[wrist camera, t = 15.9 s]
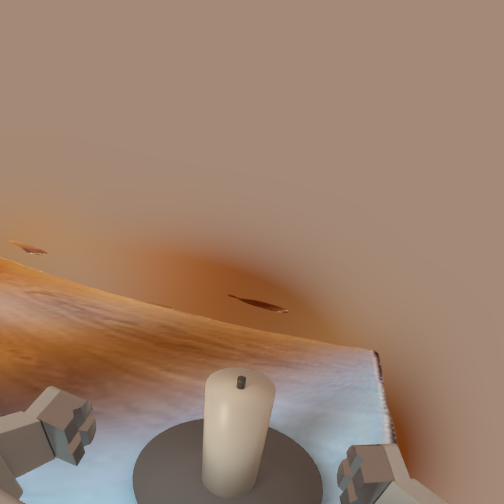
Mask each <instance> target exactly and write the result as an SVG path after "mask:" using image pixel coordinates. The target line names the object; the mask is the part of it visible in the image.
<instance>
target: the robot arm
mask: <svg viewBox="0 0 504 504" xmlns="http://www.w3.org/2000/svg"><path fill="white" fill-rule="evenodd" d="M92 410H93V408H92V404H91V402H90V401H88V400H85V399H83V398H80V397H78V396H75V395H73V394H70V393H68V392H66V391H63V390H61V389H58V388H56V387H54V386H49V387H47V388H46V389H45V390H44V391H43V393H42V394H41V395H40V396H39V397H38V398H37V399H36V400H35V401H34V402H33V404H32V405H31V406H30V407H29V408H28V409H27V410H26V411H25V412H22V411H19V412H16V413H12V414H9V415H5V416H2V417H0V504H25V503H23V502H21V501H20V500H19V498H20V497H21V495H22V493H23V490H22V488H21V487H20V485H19V484H18V482H17V481H16V479H15V478H17V477H19V476H21V475H23V474H25V473H27V472H29V471H31V470H33V469H35V468H37V467H39V466H41V465H43V464H45V463H47V462H49V461H51V460H53V459H55V457H56V458H59V459H61V460H63V461H66V462H68V463H70V464H73V465H75V466H77V465H78V463H79V462H80V460H81V458H82V457H83V455H84V453H85V451H84V446H86V445H89V444H90V443H91V442H92V440H93V438H94V435H95V431H96V422H95V419H94V417H93V416H92V415H91V414H90V413H91V411H92ZM347 457H348V458H346V459H345V460H343V461H342V462H341V464H340V466H339V469H338V474H337V482H338V487H339V488H340V489H341V490H342V491H344V492H343V493H342V495H341V496H340V501H341V504H449V503H448V502H446V501H445V500H443V499H442V498H440V497H439V496H438V495H436V494H435V493H433V492H432V491H431V490H429V489H428V488H426V487H425V486H424V485H422V484H421V483H419V482H418V481H417V480H416V479H410V476H409V474H408V471H407V468H406V466H405V463H404V461H403V458H402V456H401V453H400V451H399V448H398V446H397V445H396V444H381V445H380V444H376V445H352V446H351V447H350V448H349V449H348V451H347Z"/></svg>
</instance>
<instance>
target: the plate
mask: <svg viewBox="0 0 504 504" xmlns="http://www.w3.org/2000/svg"><path fill="white" fill-rule="evenodd" d="M203 429H204V419H200V420H194V421H189V422H185V423H182V424H179V425H176V426H174V427H171V428H169V429H167V430H165V431H164V432H162V433H160V434H159V435H157V436H156V437H155V438H153V439H152V440H151V441H150V442H149V443H148V444H147V445H146V446H145V447H144V449H143V450H142V451H141V453H140V455H139V457H138V459H137V461H136V464H135V467H134V472H133V488H134V493H135V497H136V500H137V503H138V504H321V501H322V494H323V489H322V480H321V476H320V473H319V471H318V468H317V466H316V464H315V463H314V461H313V459H312V458H311V457H310V456H309V454H308V453H307V452H306V451H305V450H304V449H303V448H302V447H301V446H300V445H299V444H297V443H296V442H295V441H294V440H292V439H291V438H289V437H287V436H286V435H284V434H282V433H280V432H278V431H277V430H274V429H272V428H269V427H268V430H267V435H266V439H265V443H264V448H263V452H262V456H261V461H260V465H259V469H258V473H257V477H256V481H255V485H254V487H253V489H252V490H251V491H250V492H249V493H248V494H246V495H244V496H242V497H238V498H223V497H219V496H217V495H214V494H213V493H211V492H210V491H209V490H208V489H207V488H206V487H205V486H204V484H203V481H202V459H203Z"/></svg>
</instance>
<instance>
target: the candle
mask: <svg viewBox="0 0 504 504" xmlns="http://www.w3.org/2000/svg"><path fill="white" fill-rule="evenodd" d="M275 392H276V390H275V386H274V384H273V382H272V381H271V380H270V379H269V378H268V377H267V376H265V375H264V374H262V373H260V372H257V371H255V370H251V369H247V368H237V367H234V368H225V369H221V370H218V371H216V372H214V373H213V374H211V375H210V376H209V377H208V379H207V381H206V386H205V406H204V429H203V459H202V481H203V484H204V486H205V487H206V488H207V489H208V490H209V491H210V492H211V493H213V494H214V495H217V496H219V497H223V498H238V497H242V496H244V495H246V494H248V493H249V492H250V491H251V490H252V489H253V487H254V485H255V481H256V477H257V473H258V469H259V465H260V461H261V456H262V452H263V448H264V443H265V439H266V435H267V430H268V426H269V421H270V416H271V412H272V407H273V402H274V398H275Z"/></svg>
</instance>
